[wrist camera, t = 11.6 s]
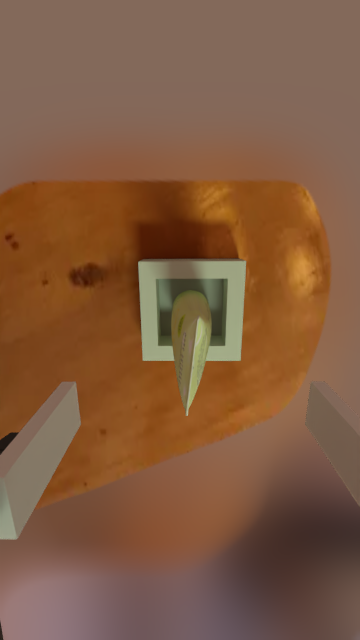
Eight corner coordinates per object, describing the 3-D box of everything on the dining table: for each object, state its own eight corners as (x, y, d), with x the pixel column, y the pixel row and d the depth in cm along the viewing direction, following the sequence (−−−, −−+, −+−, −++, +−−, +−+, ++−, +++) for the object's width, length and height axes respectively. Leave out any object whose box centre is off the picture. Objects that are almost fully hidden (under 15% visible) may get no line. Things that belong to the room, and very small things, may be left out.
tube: (162, 299, 38) (138, 358, 20) (193, 277, 37) (199, 317, 19) (186, 332, 39) (186, 417, 21) (217, 311, 39) (245, 381, 20)
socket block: (147, 347, 41) (142, 360, 36) (143, 258, 37) (138, 261, 33) (234, 347, 40) (240, 360, 36) (239, 258, 37) (246, 261, 33)
